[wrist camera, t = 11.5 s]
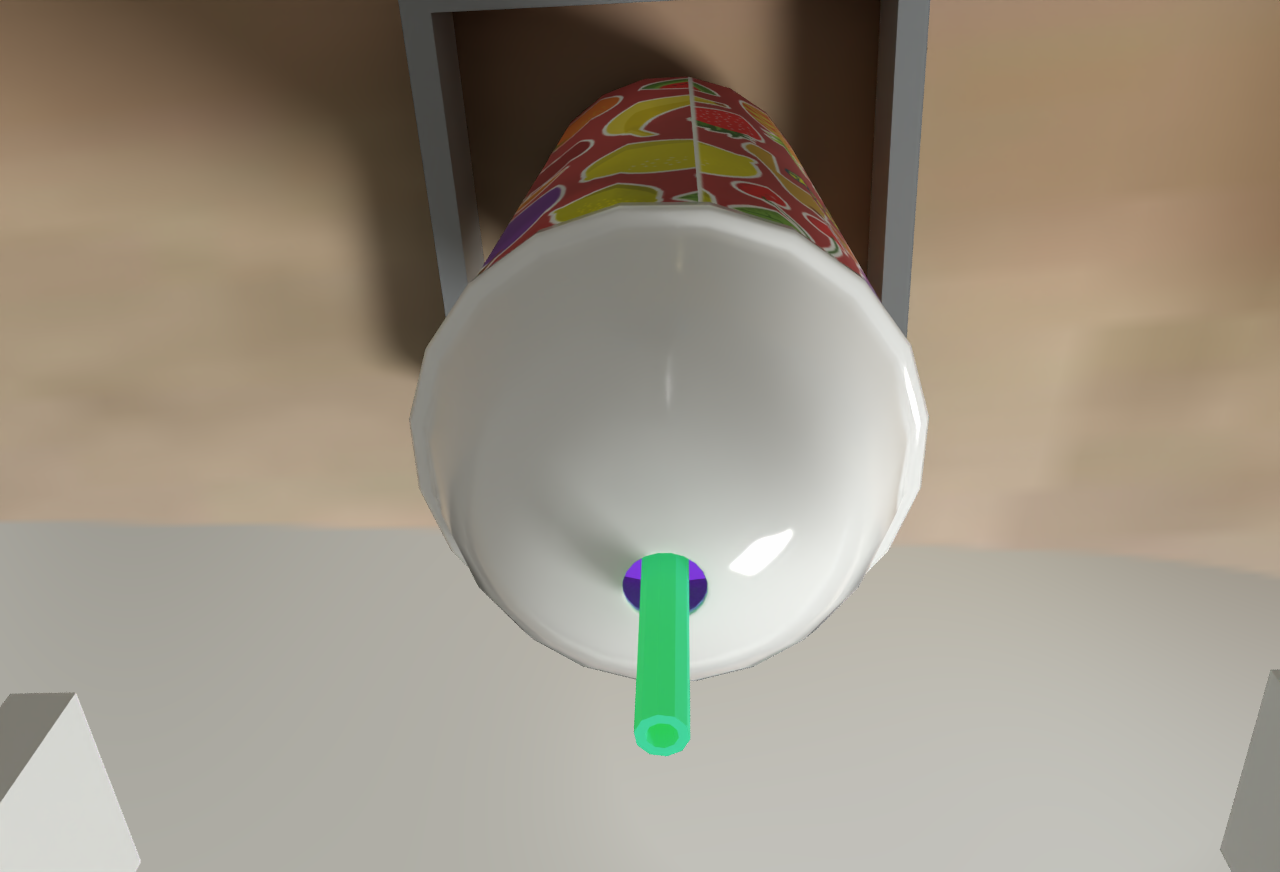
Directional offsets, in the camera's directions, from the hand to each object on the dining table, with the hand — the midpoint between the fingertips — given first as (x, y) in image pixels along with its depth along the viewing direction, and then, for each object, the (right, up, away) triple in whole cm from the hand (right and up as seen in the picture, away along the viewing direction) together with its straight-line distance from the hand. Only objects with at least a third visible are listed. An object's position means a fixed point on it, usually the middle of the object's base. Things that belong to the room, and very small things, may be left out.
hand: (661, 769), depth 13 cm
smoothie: (+1, +10, +18) cm, 20 cm away
